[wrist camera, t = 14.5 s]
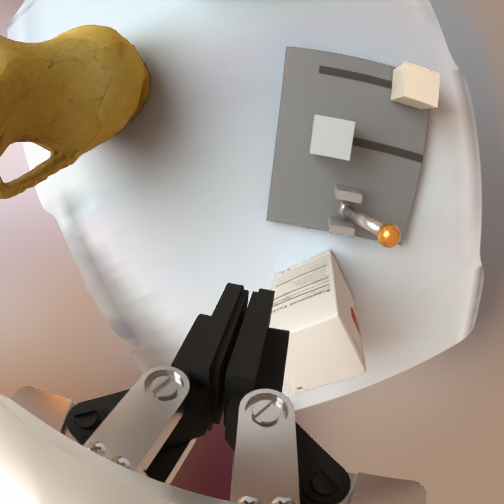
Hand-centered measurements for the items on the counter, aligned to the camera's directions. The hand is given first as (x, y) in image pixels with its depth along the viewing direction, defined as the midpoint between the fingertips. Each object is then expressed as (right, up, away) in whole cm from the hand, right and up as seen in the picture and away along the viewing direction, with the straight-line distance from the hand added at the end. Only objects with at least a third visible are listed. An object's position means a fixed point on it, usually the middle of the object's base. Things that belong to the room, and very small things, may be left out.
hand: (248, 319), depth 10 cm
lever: (+11, +7, +22) cm, 25 cm away
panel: (+12, +15, +21) cm, 29 cm away
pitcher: (-21, +26, +23) cm, 40 cm away
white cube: (+9, +16, +20) cm, 26 cm away
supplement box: (+9, -2, +30) cm, 31 cm away
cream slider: (+18, +21, +15) cm, 32 cm away
